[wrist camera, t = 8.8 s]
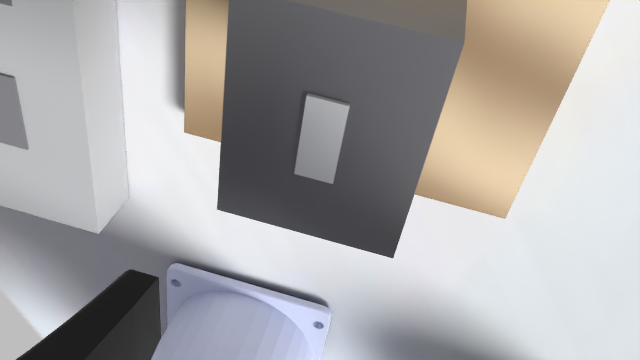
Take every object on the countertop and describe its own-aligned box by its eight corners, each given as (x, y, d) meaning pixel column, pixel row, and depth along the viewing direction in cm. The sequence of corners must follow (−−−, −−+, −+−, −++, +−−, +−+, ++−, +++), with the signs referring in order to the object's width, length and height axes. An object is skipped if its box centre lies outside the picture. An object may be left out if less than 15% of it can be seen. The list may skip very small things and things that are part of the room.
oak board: (504, 201, 21) (505, 218, 20) (195, 119, 22) (184, 132, 21) (683, -182, 13) (696, -180, 13) (205, -278, 14) (189, -281, 14)
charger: (422, 100, 18) (392, 261, 12) (301, 70, 18) (215, 212, 12) (471, -63, 15) (464, 44, 9) (325, -96, 15) (227, -12, 9)
